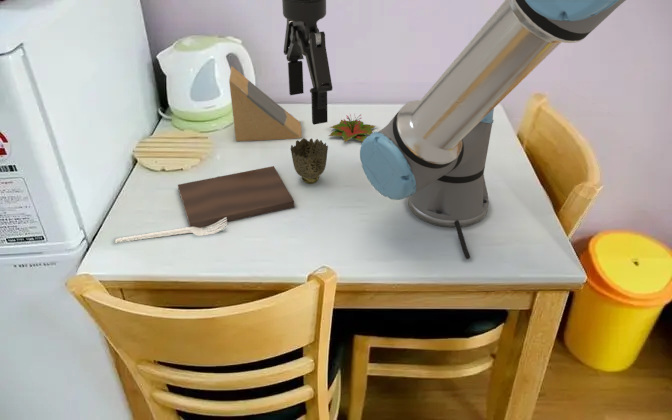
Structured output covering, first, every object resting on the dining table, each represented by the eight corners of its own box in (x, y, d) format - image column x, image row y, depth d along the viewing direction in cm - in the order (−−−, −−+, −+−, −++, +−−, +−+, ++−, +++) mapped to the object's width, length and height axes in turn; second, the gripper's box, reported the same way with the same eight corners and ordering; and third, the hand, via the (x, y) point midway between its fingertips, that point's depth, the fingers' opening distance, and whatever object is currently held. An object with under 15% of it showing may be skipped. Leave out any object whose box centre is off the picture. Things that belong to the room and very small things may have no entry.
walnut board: (294, 207, 115) (294, 200, 115) (190, 229, 110) (189, 223, 109) (274, 171, 126) (273, 165, 125) (178, 190, 120) (177, 184, 119)
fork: (116, 238, 108) (114, 229, 107) (227, 223, 112) (226, 215, 111) (115, 248, 106) (112, 240, 105) (228, 233, 109) (227, 225, 108)
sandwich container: (302, 138, 138) (300, 77, 129) (235, 141, 137) (228, 80, 128) (300, 121, 145) (298, 62, 136) (237, 124, 144) (230, 65, 135)
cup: (316, 194, 119) (315, 159, 114) (285, 184, 122) (283, 150, 117) (334, 176, 124) (334, 143, 120) (304, 167, 127) (303, 134, 123)
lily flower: (337, 118, 146) (337, 101, 144) (384, 126, 143) (385, 108, 140) (319, 140, 137) (319, 122, 135) (369, 149, 134) (369, 131, 131)
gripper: (262, -23, 110) (270, 85, 122) (306, 17, 91) (310, 140, 103) (301, -27, 112) (305, 80, 124) (352, 11, 93) (350, 132, 105)
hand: (307, 107), depth 114 cm, fingers open, 13 cm apart
